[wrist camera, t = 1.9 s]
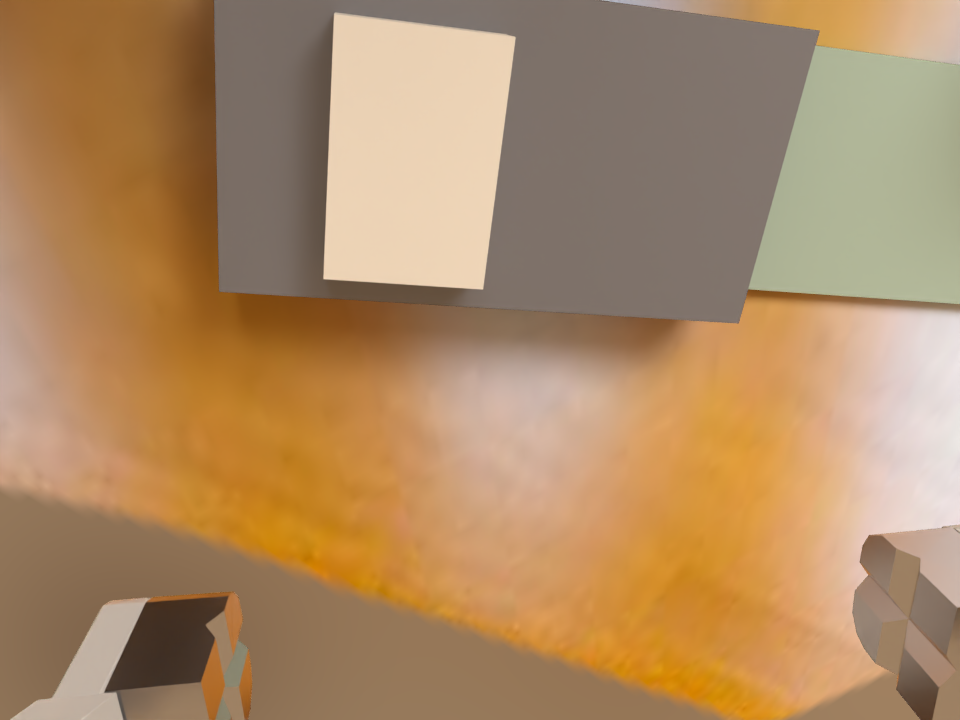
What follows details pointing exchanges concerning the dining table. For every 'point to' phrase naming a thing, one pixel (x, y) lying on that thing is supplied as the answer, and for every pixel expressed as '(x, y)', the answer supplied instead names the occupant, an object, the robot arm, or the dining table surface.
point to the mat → (869, 183)
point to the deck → (531, 153)
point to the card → (413, 151)
